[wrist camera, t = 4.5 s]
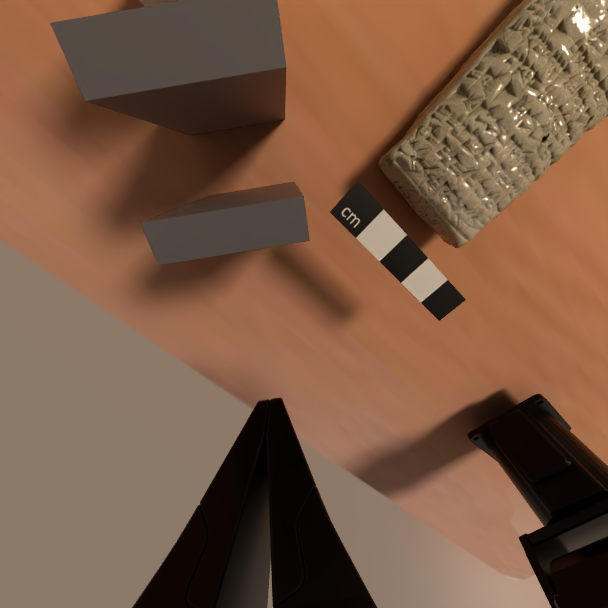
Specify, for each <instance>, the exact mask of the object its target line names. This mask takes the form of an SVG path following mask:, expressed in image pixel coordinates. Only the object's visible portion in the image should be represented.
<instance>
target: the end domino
mask: <svg viewBox="0 0 608 608" xmlns="http://www.w3.org/2000/svg"><path fill="white" fill-rule="evenodd" d="M139 1H140V2H141V3H142V4H143V5H144V7H147V6H153V5H159V4H164V3H170V2H176V1H182V0H139Z"/></svg>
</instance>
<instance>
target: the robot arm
mask: <svg viewBox="0 0 608 608" xmlns="http://www.w3.org/2000/svg"><path fill="white" fill-rule="evenodd" d="M570 430H571V427H570V426H569V425H568V423H567V422H566V421H565V420H564V419H563V418H562V417H561V415H560V414H559V413H558V412H557V411H556V410H555V409H554V407H553V406H552V405H551V404H550V403H549V402H548V400H547V399H546V398H545V397H543V396H542V395H541V394H536V395H533V396H532V397H530V398H528V399H526V400H525V401H523V402H521V403H519V404H518V405H516V406H514V407H512V408H511V409H509V410H507V411H506V412H504V413H502V414H500V415H499V416H497V417H495V418H493V419H492V420H490V421H488V422H486V423H485V424H483V425H481V426H480V427H478V428H476V429H474V430H473V431H471V432H469V433H468V435H467V436H468V438H469V439H470V441H471V442H472V443H474V444H475V445H476V446H478V447H479V448H480V449H482V450H483V451H484V452H486V453H487V454H488V455H490V456H491V457H492V458H494V459H495V460H496V461H497V462H498V463H499V464H500V466H501V467H502V468H503V470H504V471H505V472H506V474H507V475H508V477H509V478H510V479H511V481H512V482H513V484H514V485H515V486H516V488H517V489H518V490H519V492H520V493H521V495H522V496H523V497H524V499H525V500H526V502H527V503H528V504H529V506H530V507H531V508H532V510H533V511H534V513H535V514H536V515H537V517H538V518H539V519H540V521H541V522H542V524H543V525H544V527H542V528H540V529H538V530H536V531H534V532H532V533H530V534H524V535H522V536H520V537H519V540H520V542H521V544H522V546H523V548H524V550H525V553H526V556H527V558H528V560H529V562H530V564H531V566H532V568H533V570H534V572H535V574H536V576H537V578H538V581H539V583H540V585H541V587H542V589H543V591H544V593H545V595H546V597H547V599H548V601H549V603H550V605H551V607H552V608H608V466H607V465H606V464H605V463H604V462H603V461H602V460H601V459H600V458H598V457H597V456H596V455H595V454H594V453H593V452H592V451H591V450H590V449H589V448H588V447H587V446H586V445H584V444H583V443H582V442H581V441H580V440H579V439H578V438H577V437H576V436H575V435H574V434H573V433H572V432H570ZM270 561H271V571H272V597H273V608H377V606H376V605H375V603H374V601H373V599H372V598H371V595H370V594H369V592H368V590H367V588H366V586H365V584H364V583H363V581H362V579H361V577H360V575H359V573H358V571H357V569H356V568H355V566H354V564H353V562H352V560H351V558H350V556H349V555H348V553H347V551H346V549H345V547H344V545H343V543H342V542H341V540H340V538H339V536H338V534H337V532H336V530H335V528H334V526H333V524H332V522H331V520H330V517H329V515H328V513H327V511H326V508H325V506H324V504H323V501H322V499H321V497H320V494H319V491H318V489H317V487H316V484H315V481H314V479H313V476H312V474H311V471H310V469H309V466H308V464H307V461H306V459H305V456H304V453H303V451H302V449H301V446H300V443H299V441H298V438H297V436H296V433H295V430H294V428H293V425H292V423H291V420H290V418H289V415H288V413H287V410H286V408H285V405H284V403H283V400H282V398H274V399H271V400H261V401H259V402H258V403H257V404H256V406H255V408H254V410H253V411H252V413H251V415H250V417H249V418H248V420H247V422H246V424H245V425H244V427H243V429H242V431H241V432H240V434H239V436H238V437H237V439H236V441H235V443H234V444H233V446H232V448H231V449H230V451H229V453H228V455H227V456H226V458H225V460H224V462H223V464H222V465H221V467H220V469H219V470H218V472H217V474H216V475H215V477H214V479H213V481H212V483H211V484H210V486H209V488H208V489H207V491H206V493H205V495H204V496H203V498H202V500H201V501H200V505H198V507H197V508H196V510H195V512H194V513H193V515H192V517H191V519H190V520H189V522H188V524H187V525H186V527H185V529H184V530H183V532H182V533H181V535H180V537H179V539H178V540H177V542H176V543H175V545H174V546H173V548H172V549H171V551H170V553H169V554H168V556H167V557H166V559H165V560H164V562H163V563H162V565H161V566H160V568H159V569H158V571H157V572H156V573H155V575H154V576H153V578H152V579H151V581H150V582H149V584H148V585H147V587H146V588H145V590H144V591H143V593H142V594H141V596H140V597H139V598H138V600H137V601H136V603H135V604H134V606H133V607H132V608H267V603H268V589H269V574H270Z"/></svg>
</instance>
